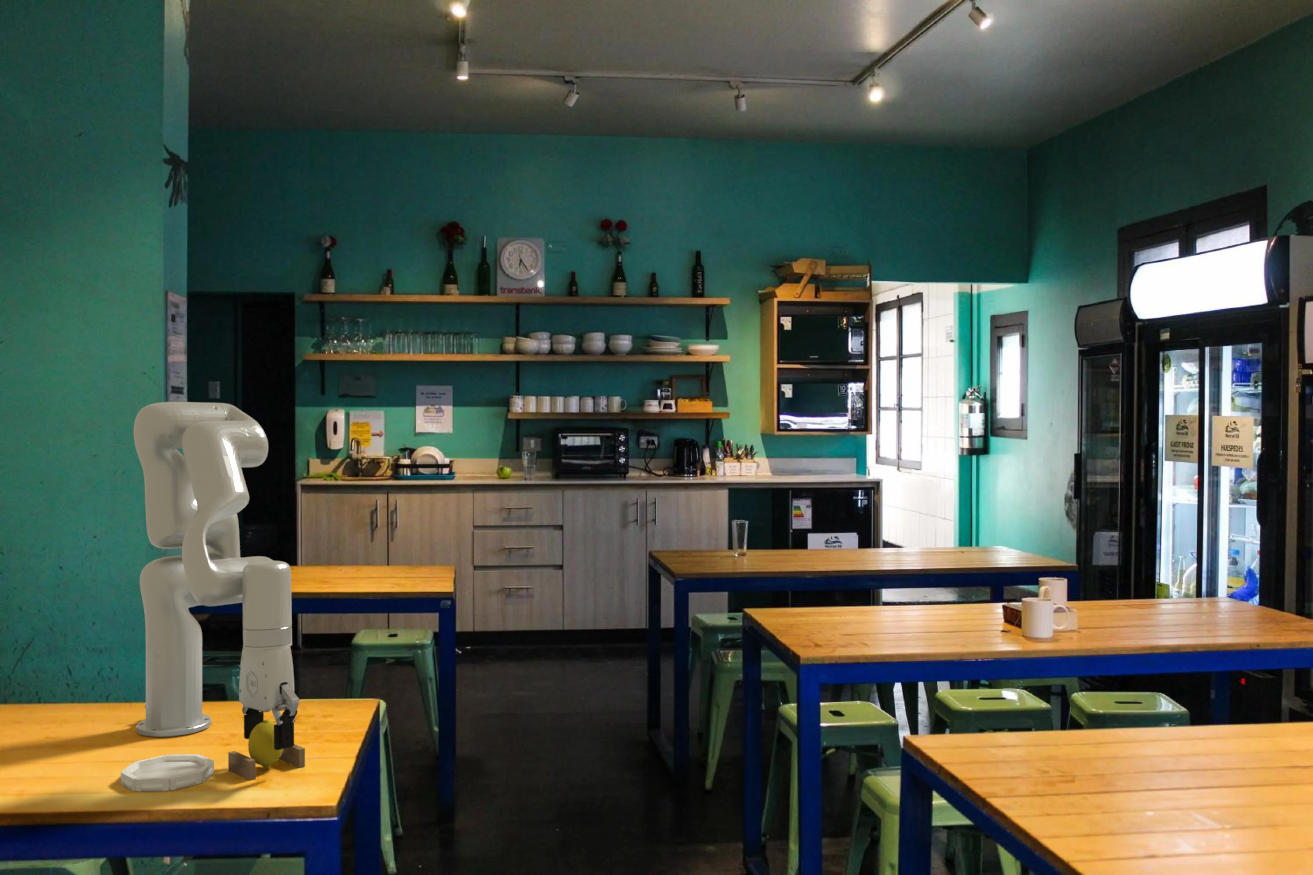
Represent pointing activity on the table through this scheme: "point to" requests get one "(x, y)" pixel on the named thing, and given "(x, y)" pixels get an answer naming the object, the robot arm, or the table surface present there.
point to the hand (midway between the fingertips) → (268, 742)
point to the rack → (248, 765)
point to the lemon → (263, 744)
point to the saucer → (167, 772)
